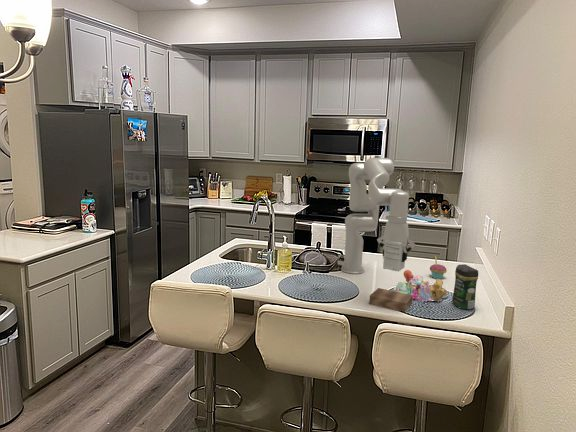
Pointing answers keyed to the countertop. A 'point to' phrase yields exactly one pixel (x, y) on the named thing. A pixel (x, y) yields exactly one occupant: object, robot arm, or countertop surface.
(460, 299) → the coffee jar
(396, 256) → the supplement box
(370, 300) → the walnut base
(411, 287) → the candy landscape model
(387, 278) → the countertop surface
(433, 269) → the cupcake
